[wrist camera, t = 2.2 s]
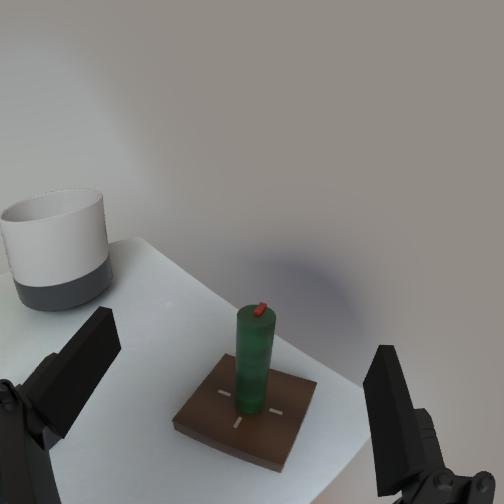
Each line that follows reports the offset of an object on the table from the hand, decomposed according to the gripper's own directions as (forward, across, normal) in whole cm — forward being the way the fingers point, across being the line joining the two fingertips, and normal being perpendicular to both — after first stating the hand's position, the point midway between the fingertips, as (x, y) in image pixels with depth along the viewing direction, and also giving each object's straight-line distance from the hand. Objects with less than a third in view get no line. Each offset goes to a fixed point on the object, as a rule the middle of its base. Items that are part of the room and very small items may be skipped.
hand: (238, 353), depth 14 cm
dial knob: (+10, 0, -17) cm, 19 cm away
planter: (+25, -36, -19) cm, 48 cm away
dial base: (+10, 0, -19) cm, 21 cm away
